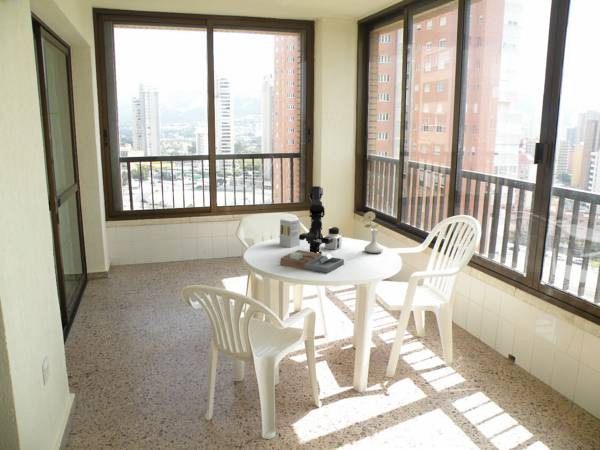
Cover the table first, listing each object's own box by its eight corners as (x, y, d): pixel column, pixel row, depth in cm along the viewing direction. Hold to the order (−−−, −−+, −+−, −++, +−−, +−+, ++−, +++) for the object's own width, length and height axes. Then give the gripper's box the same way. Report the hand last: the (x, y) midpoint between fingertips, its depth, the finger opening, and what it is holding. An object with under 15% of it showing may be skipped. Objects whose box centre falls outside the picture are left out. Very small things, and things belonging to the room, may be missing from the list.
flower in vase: (382, 249, 324) (384, 210, 319) (383, 254, 313) (385, 213, 308) (361, 249, 325) (363, 209, 320) (361, 253, 314) (363, 212, 309)
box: (321, 260, 298) (321, 255, 298) (343, 264, 292) (344, 259, 291) (304, 269, 281) (304, 263, 281) (327, 273, 275) (327, 268, 274)
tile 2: (330, 253, 293) (332, 257, 292) (323, 257, 295) (325, 261, 295) (326, 255, 288) (328, 259, 288) (319, 259, 291) (321, 263, 291)
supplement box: (279, 245, 331) (279, 218, 327) (289, 242, 338) (289, 216, 334) (290, 247, 325) (290, 221, 321) (300, 245, 332) (300, 219, 328)
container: (341, 247, 328) (342, 227, 325) (335, 250, 321) (336, 229, 318) (330, 245, 332) (331, 225, 329) (324, 248, 325) (325, 227, 322)
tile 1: (294, 256, 291) (294, 251, 291) (302, 257, 289) (302, 253, 288) (290, 258, 287) (290, 253, 286) (298, 259, 285) (298, 255, 284)
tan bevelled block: (298, 256, 306) (298, 249, 305) (321, 260, 298) (321, 253, 297) (280, 264, 289) (280, 257, 288) (304, 269, 281) (304, 262, 280)
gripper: (294, 226, 289) (293, 254, 292) (324, 230, 279) (323, 259, 283) (304, 223, 298) (303, 249, 301) (333, 227, 289) (332, 254, 292)
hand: (315, 253), depth 294 cm, fingers closed
